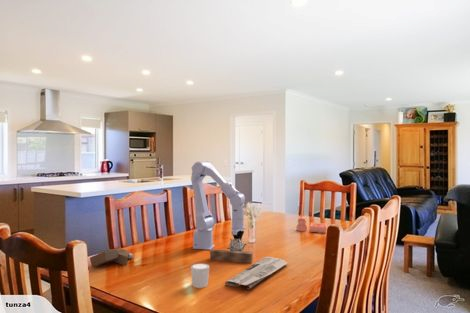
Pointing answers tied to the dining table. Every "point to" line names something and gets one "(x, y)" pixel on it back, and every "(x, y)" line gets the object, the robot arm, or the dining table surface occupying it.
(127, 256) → the grey angled block
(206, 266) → the white short cylinder
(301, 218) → the pottery
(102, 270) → the dining table surface
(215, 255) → the batten
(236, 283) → the newspaper
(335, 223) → the dining table surface
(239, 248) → the game die
